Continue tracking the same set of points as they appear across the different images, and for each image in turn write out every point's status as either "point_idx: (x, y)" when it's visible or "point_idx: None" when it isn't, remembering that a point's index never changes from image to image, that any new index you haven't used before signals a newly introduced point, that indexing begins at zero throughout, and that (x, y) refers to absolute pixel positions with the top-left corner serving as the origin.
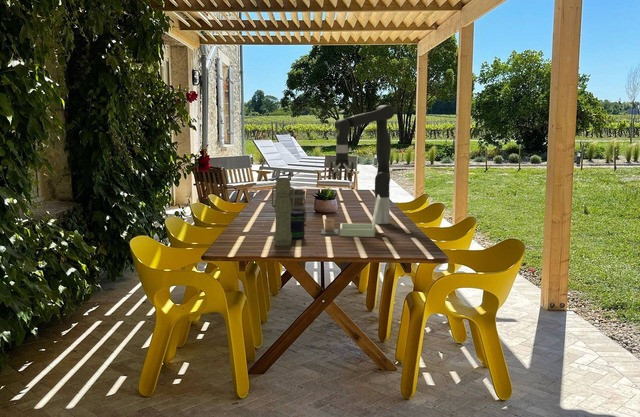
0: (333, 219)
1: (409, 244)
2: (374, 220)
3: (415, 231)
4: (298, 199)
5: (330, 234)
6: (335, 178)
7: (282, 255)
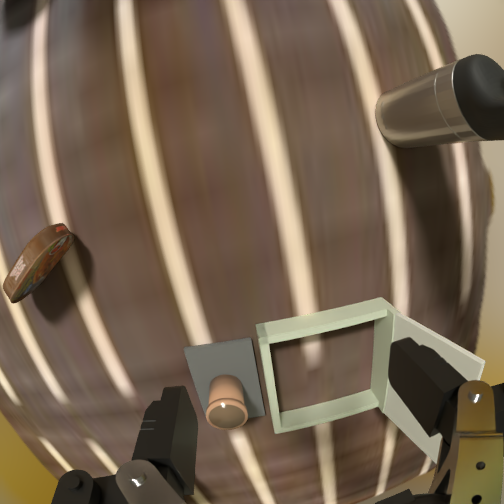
0: (243, 416)
1: None
2: (395, 415)
3: (482, 266)
4: None
5: None
6: (196, 420)
7: None
